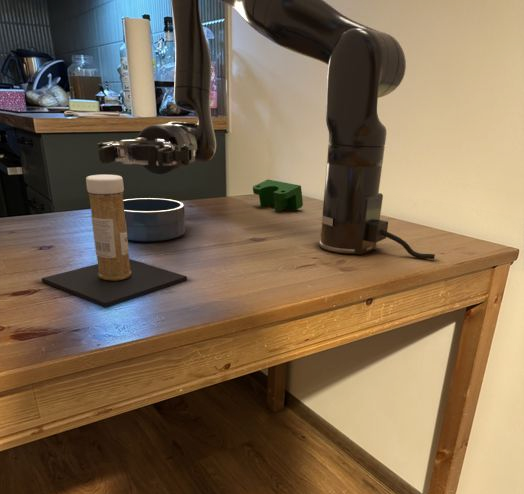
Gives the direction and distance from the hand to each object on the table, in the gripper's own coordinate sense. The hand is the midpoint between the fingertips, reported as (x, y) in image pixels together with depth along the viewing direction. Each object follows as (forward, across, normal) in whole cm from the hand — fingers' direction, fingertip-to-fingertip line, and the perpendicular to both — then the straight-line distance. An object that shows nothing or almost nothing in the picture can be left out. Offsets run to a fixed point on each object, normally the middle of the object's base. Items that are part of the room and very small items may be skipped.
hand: (131, 156), depth 71 cm
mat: (+9, 0, +16) cm, 18 cm away
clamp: (-49, +16, +16) cm, 54 cm away
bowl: (-18, -4, +15) cm, 24 cm away
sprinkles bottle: (+9, 0, +15) cm, 18 cm away
